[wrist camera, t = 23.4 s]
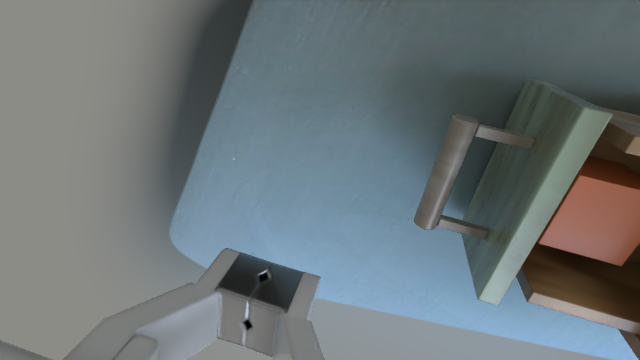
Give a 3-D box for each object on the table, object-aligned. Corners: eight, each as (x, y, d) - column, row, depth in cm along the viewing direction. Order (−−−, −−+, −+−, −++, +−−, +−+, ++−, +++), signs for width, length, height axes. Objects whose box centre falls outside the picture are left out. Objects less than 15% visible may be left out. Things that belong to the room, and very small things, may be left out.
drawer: (403, 210, 27) (402, 277, 20) (456, 61, 22) (479, 83, 15) (647, 278, 25) (738, 378, 18) (771, 130, 19) (968, 193, 13)
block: (585, 223, 23) (621, 266, 19) (516, 205, 24) (538, 243, 20) (624, 163, 21) (675, 198, 17) (548, 145, 21) (579, 174, 18)
